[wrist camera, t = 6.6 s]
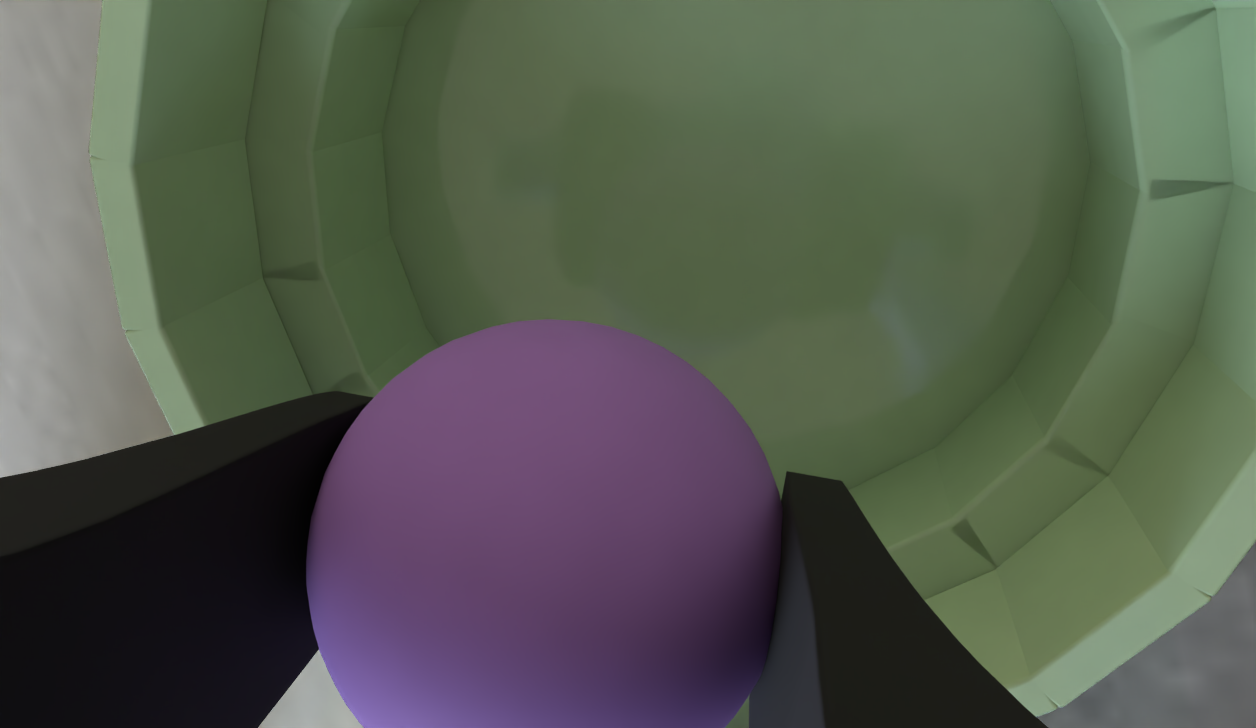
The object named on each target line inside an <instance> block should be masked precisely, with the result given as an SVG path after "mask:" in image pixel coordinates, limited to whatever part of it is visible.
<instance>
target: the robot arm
mask: <svg viewBox="0 0 1256 728" xmlns="http://www.w3.org/2000/svg"><path fill="white" fill-rule="evenodd" d="M373 398H374V397H368V396H363V395H357V394H352V393H346V392H340V391H331V392H324V393H318V394H314V395H309V396H305V397H301V398H297V399H294V400H290V401H286V402H283V403H279V404H276V405H272V406H269V407H266V408H262V409H259V410H256V411H252V412H249V413H246V414H243V415H239V416H236V417H233V418H229V419H226V420H223V421H220V422H216V423H213V424H210V425H206V426H203V427H200V428H197V429H193V430H190V431H187V432H183V433H180V434H177V435H173V436H169V437H166V438H162V439H158V440H155V441H151V442H147V443H144V444H140V445H136V446H133V447H129V448H125V449H122V450H118V451H114V452H111V453H107V454H103V455H100V456H96V457H92V458H89V459H85V460H81V461H77V462H72V463H68V464H64V465H60V466H55V467H51V468H46V469H42V470H37V471H33V472H28V473H23V474H18V475H13V476H7V477H2V478H0V728H258V727H259V725H260V724H261V723H262V722H263V720H264V719H265V718H266V716H267V715H268V714H269V713H270V711H271V710H272V709H273V707H274V706H275V705H276V704H277V702H278V701H279V700H280V698H281V697H282V696H283V695H284V693H285V692H286V691H287V689H288V688H289V687H290V686H291V684H292V683H293V682H294V681H295V679H296V678H297V677H298V675H299V674H300V673H301V672H302V670H303V669H304V668H305V666H306V665H307V664H308V663H309V661H310V660H311V659H312V657H313V656H314V655H315V653H316V652H317V651H318V649H319V647H318V643H317V640H316V636H315V633H314V629H313V625H312V619H311V613H310V607H309V600H308V593H307V587H306V558H307V544H308V536H309V529H310V522H311V516H312V513H313V510H314V506H315V503H316V500H317V496H318V493H319V490H320V487H321V484H322V480H323V477H324V474H325V472H326V470H327V468H328V466H329V464H330V462H331V460H332V458H333V456H334V454H335V452H336V450H337V448H338V446H339V444H340V443H341V441H342V439H343V437H344V435H345V434H346V432H347V431H348V429H349V428H350V427H351V425H352V424H353V422H354V421H355V420H356V418H357V417H358V415H359V414H360V413H361V411H362V410H363V409H364V408H365V407H366V406H367V405H368V404H369V402H370V401H371V400H372V399H373ZM781 503H782V507H783V517H782V532H781V558H780V569H779V580H778V591H777V600H776V607H775V614H774V620H773V627H772V633H771V638H770V643H769V648H768V653H767V657H766V661H765V664H764V668H763V671H762V674H761V676H760V678H759V680H758V682H757V683H756V685H755V686H754V688H753V690H752V691H751V693H750V695H749V728H1048V727H1047V726H1046V725H1045V724H1043V723H1042V722H1041V721H1040V720H1039V719H1038V718H1037V717H1036V716H1034V715H1033V714H1032V713H1031V712H1030V711H1029V710H1028V709H1027V708H1025V707H1024V706H1023V705H1022V704H1021V703H1020V702H1019V701H1018V700H1017V699H1016V698H1015V697H1014V696H1013V695H1012V694H1011V693H1010V692H1009V691H1008V690H1007V689H1006V688H1005V687H1004V686H1003V685H1002V684H1001V683H1000V682H999V681H998V680H997V679H996V678H995V677H993V676H992V675H991V674H990V673H989V672H988V671H987V670H986V669H985V668H984V667H983V666H982V665H981V664H980V663H979V662H978V661H977V660H976V659H975V658H974V657H973V655H972V654H971V653H970V652H969V651H968V650H967V649H966V648H965V647H964V646H963V645H962V644H961V643H960V642H959V641H958V639H957V638H956V637H955V636H954V635H953V634H952V632H951V631H950V630H949V629H948V628H947V627H946V625H945V624H944V623H943V622H942V621H941V620H940V618H939V617H938V616H937V615H936V614H935V613H934V611H933V610H932V609H931V608H930V607H929V606H928V604H927V603H926V602H925V601H924V600H923V598H922V597H921V596H920V594H919V593H918V592H917V591H916V589H915V588H914V587H913V585H912V584H911V583H910V581H909V580H908V579H907V577H906V576H905V574H904V573H903V572H902V570H901V569H900V568H899V566H898V565H897V564H896V562H895V561H894V559H893V558H892V557H891V555H890V554H889V552H888V551H887V549H886V548H885V546H884V545H883V543H882V542H881V540H880V539H879V537H878V536H877V534H876V533H875V531H874V530H873V528H872V527H871V525H870V523H869V522H868V520H867V519H866V517H865V516H864V514H863V512H862V511H861V509H860V508H859V506H858V504H857V503H856V501H855V500H854V498H853V496H852V495H851V493H850V492H849V490H848V489H847V487H846V486H845V485H844V483H843V482H842V481H840V480H834V479H829V478H823V477H817V476H812V475H806V474H801V473H795V472H789V471H787V472H786V477H785V482H784V488H783V493H782V498H781Z"/></svg>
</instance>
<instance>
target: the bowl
mask: <svg viewBox="0 0 1256 728" xmlns="http://www.w3.org/2000/svg"><path fill="white" fill-rule="evenodd" d="M89 154H90V155H91V157H90V165H91V170H92V176H93V181H94V186H95V191H96V196H97V201H98V207H99V212H100V217H101V222H102V227H103V232H104V238H105V243H106V248H107V253H108V258H109V263H110V269H111V274H112V279H113V284H114V289H115V294H116V300H117V305H118V310H119V315H120V320H121V326H122V328H123V329H124V330H126V332H125V336H126V338H127V340H128V342H129V344H130V346H131V348H132V350H133V352H134V354H135V356H136V358H137V360H138V362H139V365H140V367H141V369H142V371H143V373H144V375H145V377H146V379H147V381H148V383H149V385H150V387H151V389H152V391H153V393H154V395H155V397H156V399H157V402H158V404H159V406H160V408H161V410H162V412H163V414H164V416H165V418H166V420H167V422H168V424H169V426H170V428H171V430H172V432H173V434H174V435H177V434H180V433H183V432H187V431H190V430H193V429H197V428H200V427H203V426H206V425H210V424H213V423H216V422H220V421H223V420H226V419H229V418H233V417H236V416H239V415H243V414H246V413H249V412H252V411H256V410H259V409H262V408H266V407H269V406H272V405H276V404H279V403H283V402H286V401H290V400H294V399H297V398H301V397H305V396H309V395H314V394H318V393H324V392H331V391H340V392H346V393H352V394H357V395H363V396H368V397H375V396H376V395H377V394H378V393H379V392H380V391H381V390H382V389H383V388H384V387H385V386H386V385H387V384H388V383H389V382H390V381H391V380H392V379H393V378H394V377H396V376H397V375H398V374H400V373H401V372H402V371H404V370H405V369H406V368H408V367H409V366H411V365H412V364H413V363H415V362H416V361H418V360H419V359H420V358H422V357H423V356H425V355H426V354H428V353H430V352H431V351H433V350H435V349H437V348H439V347H441V346H443V345H445V344H447V343H449V342H450V341H452V340H455V339H458V338H461V337H464V336H466V335H469V334H472V333H475V332H478V331H481V330H483V329H486V328H489V327H493V326H498V325H502V324H507V323H512V322H517V321H529V320H544V319H554V320H570V321H584V322H590V323H595V324H600V325H605V326H611V327H614V328H617V329H620V330H623V331H626V332H629V333H632V334H635V335H638V336H640V337H642V338H645V339H647V340H649V341H651V342H653V343H655V344H658V345H660V346H662V347H664V348H665V349H667V350H669V351H670V352H672V353H674V354H675V355H677V356H678V357H680V358H682V359H683V360H685V361H686V362H688V363H689V364H690V365H692V366H693V367H694V368H695V369H696V370H698V371H699V372H700V373H701V374H703V375H704V376H705V377H706V378H708V379H709V380H710V381H711V382H712V383H713V384H714V385H715V386H716V387H717V388H718V389H719V390H720V392H721V393H722V394H723V395H724V396H725V397H726V398H727V399H728V400H729V401H730V402H731V403H732V404H733V406H734V407H735V408H736V410H737V411H738V412H739V414H740V415H741V416H742V418H743V419H744V420H745V422H746V423H747V424H748V426H749V427H750V428H751V430H752V432H753V434H754V436H755V437H756V439H757V441H758V443H759V445H760V446H761V448H762V450H763V452H764V454H765V456H766V459H767V461H768V464H769V467H770V469H771V472H772V474H773V477H774V479H775V482H776V485H777V488H778V491H779V494H780V499H781V498H782V493H783V488H784V482H785V477H786V472H787V471H789V472H795V473H801V474H806V475H812V476H817V477H823V478H829V479H834V480H840V481H842V482H843V483H844V485H845V486H846V487H847V489H848V490H849V492H850V493H851V495H852V496H853V498H854V500H855V501H856V503H857V504H858V506H859V508H860V509H861V511H862V512H863V514H864V516H865V517H866V519H867V520H868V522H869V523H870V525H871V527H872V528H873V530H874V531H875V533H876V534H877V536H878V537H879V539H880V540H881V542H882V543H883V545H884V546H885V548H886V549H887V551H888V552H889V554H890V555H891V557H892V558H893V559H894V561H895V562H896V564H897V565H898V566H899V568H900V569H901V570H902V572H903V573H904V574H905V576H906V577H907V579H908V580H909V581H910V583H911V584H912V585H913V587H914V588H915V589H916V591H917V592H918V593H919V594H920V596H921V597H922V598H923V600H924V601H925V602H926V603H927V604H928V606H929V607H930V608H931V609H932V610H933V611H934V613H935V614H936V615H937V616H938V617H939V618H940V620H941V621H942V622H943V623H944V624H945V625H946V627H947V628H948V629H949V630H950V631H951V632H952V634H953V635H954V636H955V637H956V638H957V639H958V641H959V642H960V643H961V644H962V645H963V646H964V647H965V648H966V649H967V650H968V651H969V652H970V653H971V654H972V655H973V657H974V658H975V659H976V660H977V661H978V662H979V663H980V664H981V665H982V666H983V667H984V668H985V669H986V670H987V671H988V672H989V673H990V674H991V675H992V676H993V677H995V678H996V679H997V680H998V681H999V682H1000V683H1001V684H1002V685H1003V686H1004V687H1005V688H1006V689H1007V690H1008V691H1009V692H1010V693H1011V694H1012V695H1013V696H1014V697H1015V698H1016V699H1017V700H1018V701H1019V702H1020V703H1021V704H1022V705H1023V706H1024V707H1025V708H1027V709H1028V710H1029V711H1030V712H1031V713H1032V714H1033V715H1034V716H1036V717H1038V716H1041V715H1044V714H1047V713H1049V712H1052V711H1055V710H1056V709H1057V708H1058V706H1059V707H1061V708H1062V707H1064V706H1066V705H1067V704H1069V703H1070V702H1071V701H1073V700H1074V699H1075V698H1077V697H1078V696H1080V695H1081V694H1082V693H1084V692H1085V691H1086V690H1088V689H1089V688H1091V687H1092V686H1093V685H1095V684H1096V683H1098V682H1099V681H1100V680H1102V679H1103V678H1104V677H1106V676H1107V675H1109V674H1110V673H1111V672H1113V671H1114V670H1115V669H1117V668H1118V667H1120V666H1121V665H1122V664H1124V663H1125V662H1127V661H1128V660H1129V659H1131V658H1132V657H1133V656H1135V655H1136V654H1138V653H1139V652H1140V651H1142V650H1143V649H1144V648H1146V647H1147V646H1149V645H1150V644H1151V643H1153V642H1154V641H1156V640H1157V639H1158V638H1160V637H1161V636H1162V635H1164V634H1165V633H1167V632H1168V631H1169V630H1171V629H1172V628H1173V627H1175V626H1176V625H1178V624H1179V623H1180V622H1182V621H1183V620H1185V619H1186V618H1187V617H1189V616H1190V615H1191V614H1193V613H1194V612H1196V611H1197V610H1198V609H1200V608H1201V607H1202V606H1204V605H1205V604H1207V603H1208V602H1209V601H1210V600H1211V596H1214V595H1216V594H1217V593H1218V591H1219V590H1220V589H1221V587H1222V586H1223V585H1224V583H1225V582H1226V581H1227V579H1228V578H1229V577H1230V575H1231V574H1232V573H1233V571H1234V570H1235V569H1236V567H1237V566H1238V565H1239V563H1240V562H1241V561H1242V559H1243V558H1244V557H1245V555H1246V554H1247V553H1248V551H1249V550H1250V549H1251V547H1252V546H1253V545H1254V543H1255V542H1256V0H102V9H101V20H100V31H99V42H98V53H97V64H96V75H95V86H94V97H93V108H92V119H91V130H90V141H89ZM749 695H750V694H749ZM725 728H749V696H748V698H747V699H746V701H745V702H744V704H743V705H742V707H741V708H740V709H739V711H738V712H737V714H736V715H735V716H734V718H733V719H732V720H731V721H730V722H729V723H728V725H727V726H726V727H725Z"/></svg>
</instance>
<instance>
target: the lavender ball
mask: <svg viewBox="0 0 1256 728" xmlns="http://www.w3.org/2000/svg"><path fill="white" fill-rule="evenodd" d="M782 517H783V507H782V503H781V499H780V494H779V491H778V488H777V485H776V482H775V479H774V477H773V474H772V472H771V469H770V467H769V464H768V461H767V459H766V456H765V454H764V452H763V450H762V448H761V446H760V445H759V443H758V441H757V439H756V437H755V436H754V434H753V432H752V430H751V428H750V427H749V426H748V424H747V423H746V422H745V420H744V419H743V418H742V416H741V415H740V414H739V412H738V411H737V410H736V408H735V407H734V406H733V404H732V403H731V402H730V401H729V400H728V399H727V398H726V397H725V396H724V395H723V394H722V393H721V392H720V390H719V389H718V388H717V387H716V386H715V385H714V384H713V383H712V382H711V381H710V380H709V379H708V378H706V377H705V376H704V375H703V374H701V373H700V372H699V371H698V370H696V369H695V368H694V367H693V366H692V365H690V364H689V363H688V362H686V361H685V360H683V359H682V358H680V357H678V356H677V355H675V354H674V353H672V352H670V351H669V350H667V349H665V348H664V347H662V346H660V345H658V344H655V343H653V342H651V341H649V340H647V339H645V338H642V337H640V336H638V335H635V334H632V333H629V332H626V331H623V330H620V329H617V328H614V327H611V326H605V325H600V324H595V323H590V322H584V321H570V320H554V319H544V320H529V321H517V322H512V323H507V324H502V325H498V326H493V327H489V328H486V329H483V330H481V331H478V332H475V333H472V334H469V335H466V336H464V337H461V338H458V339H455V340H452V341H450V342H449V343H447V344H445V345H443V346H441V347H439V348H437V349H435V350H433V351H431V352H430V353H428V354H426V355H425V356H423V357H422V358H420V359H419V360H418V361H416V362H415V363H413V364H412V365H411V366H409V367H408V368H406V369H405V370H404V371H402V372H401V373H400V374H398V375H397V376H396V377H394V378H393V379H392V380H391V381H390V382H389V383H388V384H387V385H386V386H385V387H384V388H383V389H382V390H381V391H380V392H379V393H378V394H377V395H376V396H375V397H374V398H373V399H372V400H371V401H370V402H369V404H368V405H367V406H366V407H365V408H364V409H363V410H362V411H361V413H360V414H359V415H358V417H357V418H356V420H355V421H354V422H353V424H352V425H351V427H350V428H349V429H348V431H347V432H346V434H345V435H344V437H343V439H342V441H341V443H340V444H339V446H338V448H337V450H336V452H335V454H334V456H333V458H332V460H331V462H330V464H329V466H328V468H327V470H326V472H325V474H324V477H323V480H322V484H321V487H320V490H319V493H318V496H317V500H316V503H315V506H314V510H313V513H312V516H311V522H310V529H309V536H308V544H307V558H306V587H307V593H308V600H309V607H310V613H311V619H312V625H313V629H314V633H315V636H316V640H317V643H318V647H319V650H320V653H321V655H322V657H323V660H324V662H325V664H326V667H327V669H328V671H329V673H330V675H331V678H332V680H333V682H334V684H335V686H336V688H337V689H338V691H339V693H340V695H341V696H342V698H343V700H344V701H345V703H346V705H347V706H348V708H349V709H350V710H351V712H352V713H353V714H354V716H355V717H356V718H357V720H358V721H359V723H360V724H361V725H362V726H363V727H364V728H725V727H726V726H727V725H728V723H729V722H730V721H731V720H732V719H733V718H734V716H735V715H736V714H737V712H738V711H739V709H740V708H741V707H742V705H743V704H744V702H745V701H746V699H747V698H748V696H749V694H750V693H751V691H752V690H753V688H754V686H755V685H756V683H757V682H758V680H759V678H760V676H761V674H762V671H763V668H764V664H765V661H766V657H767V653H768V648H769V643H770V638H771V633H772V627H773V620H774V614H775V607H776V600H777V591H778V580H779V569H780V558H781V532H782Z"/></svg>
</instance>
